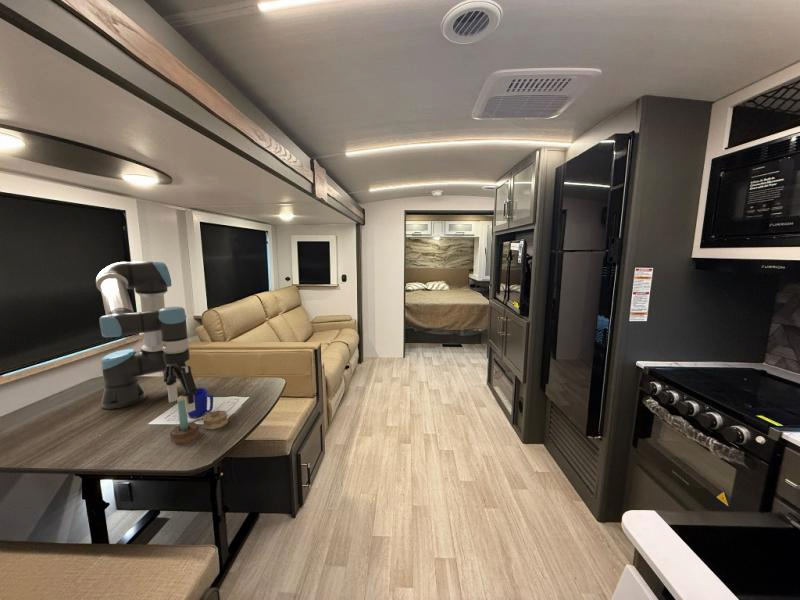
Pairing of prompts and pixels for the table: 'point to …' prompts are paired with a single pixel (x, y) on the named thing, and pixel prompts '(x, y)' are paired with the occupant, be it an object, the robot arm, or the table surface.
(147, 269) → the robot arm
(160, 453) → the table surface
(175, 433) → the walnut bead
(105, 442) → the table surface
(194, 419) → the thin beige rod
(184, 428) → the teal rod
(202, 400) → the mug
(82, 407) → the table surface
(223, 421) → the maple bead
